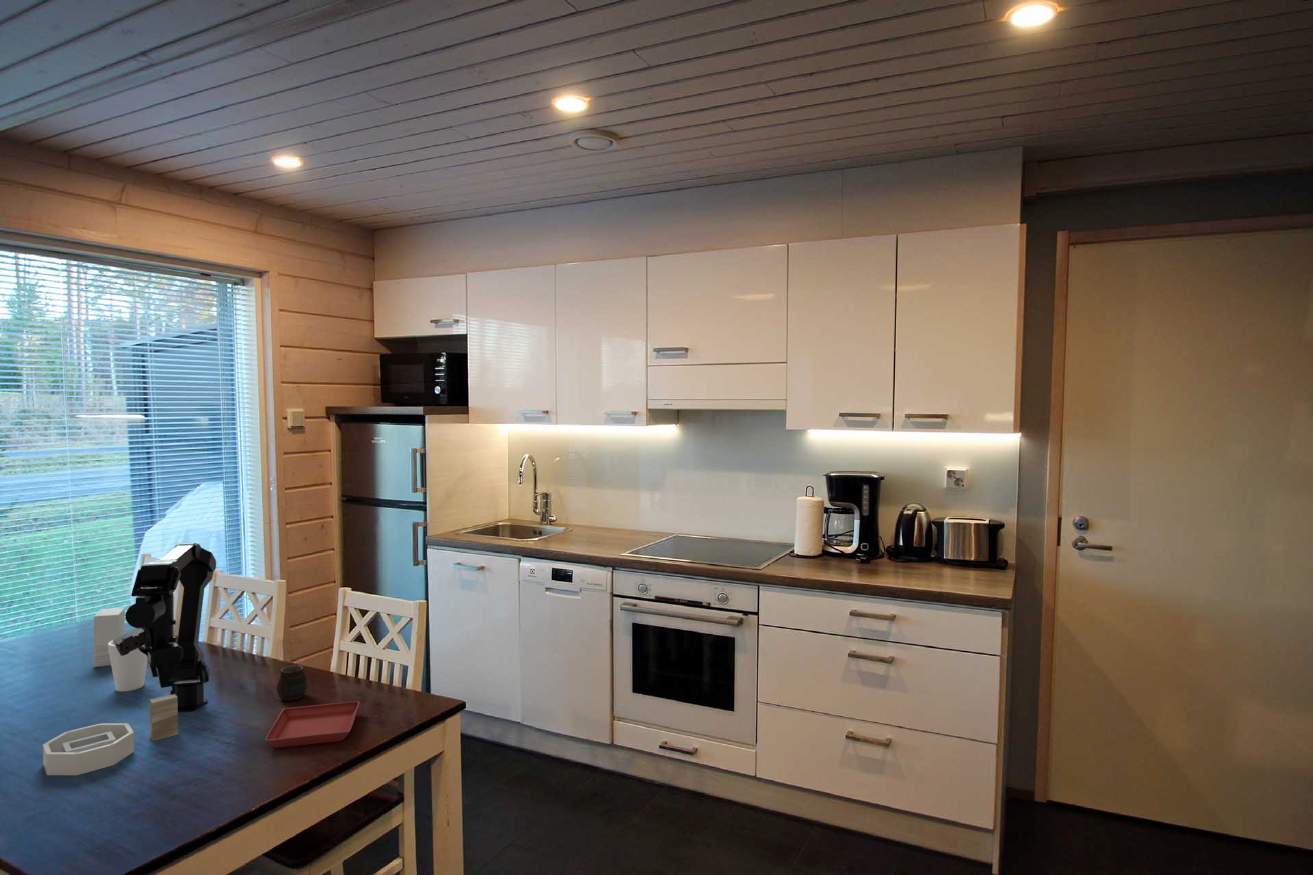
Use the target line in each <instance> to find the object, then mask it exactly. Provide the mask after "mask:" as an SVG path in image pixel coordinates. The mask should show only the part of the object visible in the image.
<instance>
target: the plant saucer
mask: <svg viewBox="0 0 1313 875" xmlns="http://www.w3.org/2000/svg"><path fill="white" fill-rule="evenodd" d="M359 707H360V701H358V700H357V701H356V700H354V701H345V702H336V703H335V702H334V703H325V704H324V703H322V704H316V705H315V704H314V705H306V706H303V705H302V706H295V707H285V708H283V709H281V712H280V713H279V714H278V716H277V718H276V720H275V721H274V723H273V725H272V726H271V728H270V730H269V732H268V733H267V735H266V737H264V741H265V742H266V743H268V744H269V745H270V746H272V747H274V748H278V749H279V748H285V747H286V748H287V747H295V746H297V747H298V746H304V745H305V746H306V745H313V744H314V745H315V744H322V743H323V744H325V743H333V742H334V743H335V742H341V741H344V740H345V739H346V737H347V736H348V735H349V734H350V732H351V729H352V727H353V724H354V722H355V718H356V715H357V712H358V710H359Z"/></svg>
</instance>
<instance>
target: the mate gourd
mask: <svg viewBox="0 0 1313 875" xmlns="http://www.w3.org/2000/svg"><path fill="white" fill-rule="evenodd" d="M304 669H305V668H304V666H303V665H300V664H294V665H293V664H292V665H287V666H284V667H282V668H281V669H280V676H279V680H278V682H277V684H276V693H277V695H278V697H279V698H280V699H281V700H283V701H287V702H290V701H291V702H292V701H295V700H298V699H301V698H302V697H303V696H304V695H305V694H306V690H307V688H308V681H307V677H306V676H305V672H304Z"/></svg>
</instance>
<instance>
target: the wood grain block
mask: <svg viewBox="0 0 1313 875" xmlns="http://www.w3.org/2000/svg"><path fill="white" fill-rule="evenodd" d="M178 714H179V711H178V701H177V696H176V695H175V694H173V695H170V694H169V695H164V696H160V697H157V698H156V697H155V698H151V699H149V738H150V739H151V741H152V742H154V741H159V740H161V739H166V738H169V737H173V736H176V735H179V729H178V728H179V727H178V726H179V719H178V718H179V715H178Z"/></svg>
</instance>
